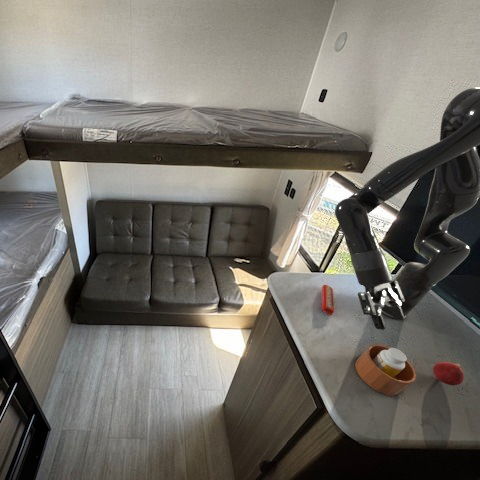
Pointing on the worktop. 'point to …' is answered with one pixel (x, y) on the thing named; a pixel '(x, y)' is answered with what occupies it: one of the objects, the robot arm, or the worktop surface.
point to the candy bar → (327, 299)
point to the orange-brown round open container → (378, 377)
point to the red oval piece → (448, 373)
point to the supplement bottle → (390, 361)
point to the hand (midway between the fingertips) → (390, 324)
